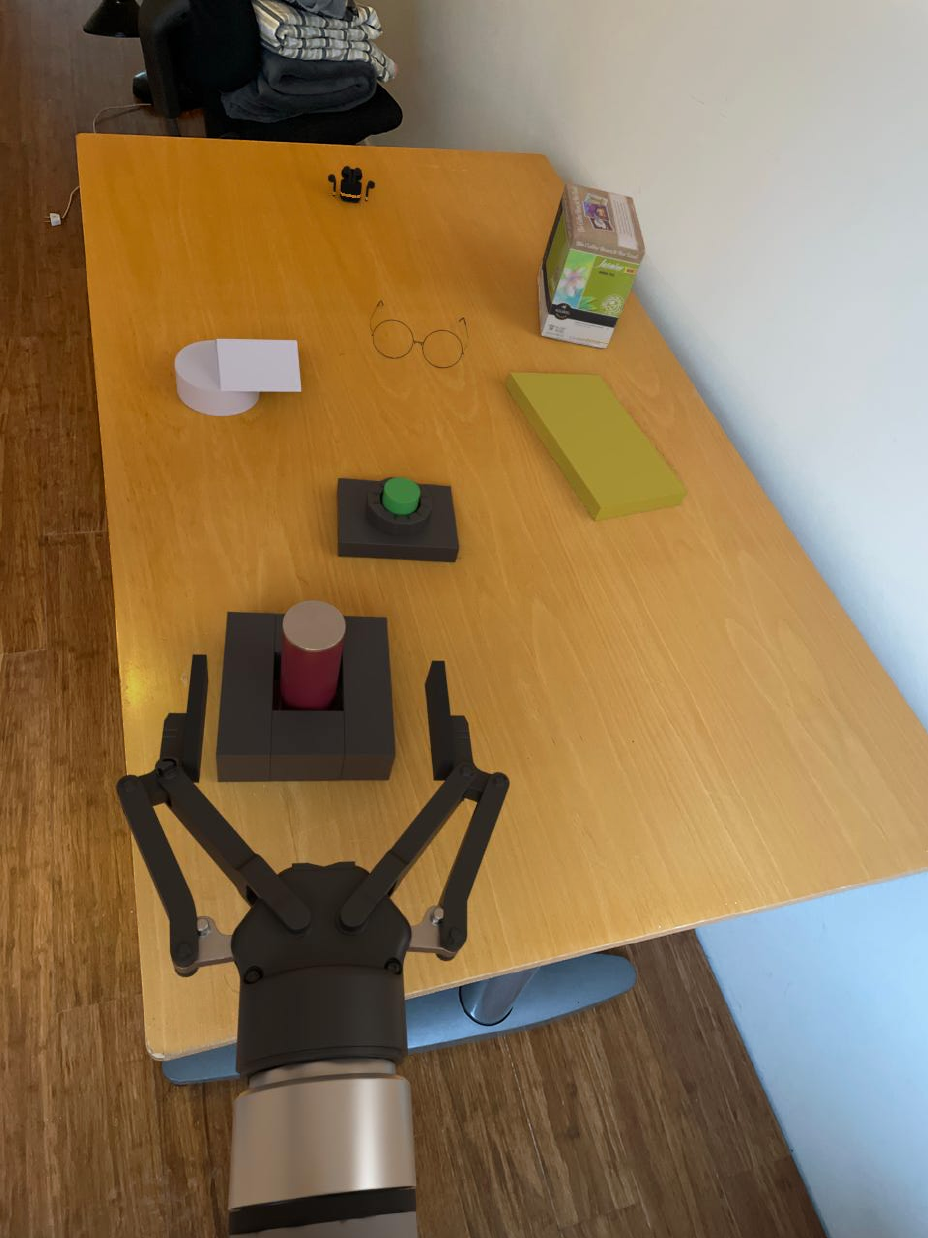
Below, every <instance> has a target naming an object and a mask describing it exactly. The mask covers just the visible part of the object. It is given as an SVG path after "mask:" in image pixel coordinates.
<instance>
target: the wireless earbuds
mask: <svg viewBox="0 0 928 1238" xmlns="http://www.w3.org/2000/svg"><path fill="white" fill-rule="evenodd" d="M340 172H341V173H340V174H341V177H342V178H341V179H340V186H339V192H340V191H341V192H342V193H345V194H351V195H356V196H357V195H360V194H361V195H362V190H363V182H361V180H362V179H363V170H362V169H361V168H360V167H355V168H352V167H351V166H349V165H345V166H343V169H342V170H341V171H340ZM327 181H328V182H329V183H331V184H332V183H333V184H332V192H333V191H334V192H336V193H337V177H336V175H335V174H334V173H331V174H330V173H329V174H328V176H327ZM375 188H376V182H375V181H373V180H368V182H367V185H366V187H365V196H366V197H368V198H369V193H370V189H371V190H372V189H375ZM336 195H337V194H336ZM336 195H333V194H332V197H333V198H335V197H336ZM365 196H364V197H365ZM339 198H340V200H341V201H343V202H347V203H355V204H357V203H359V202H360V201H361V198H362V196H361V197H360V198H352V197H346V196H342V195H341V194H340V193H339ZM364 201H365V202H366V203H368V202H369V199H368V200H366V199H365V198H364Z"/></svg>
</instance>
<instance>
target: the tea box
mask: <svg viewBox="0 0 928 1238" xmlns="http://www.w3.org/2000/svg"><path fill="white" fill-rule="evenodd" d="M558 203H559V204H558V208H557V211H556V214H555V217H554V221H553V224H552V227H551V230H550V234H549V237H548V241H547V244H546V247H545V251H544V254H543V256H542V257H543V258H542V260H541V263H540V266H539V270H538V274H539V285H538V276H537V277H536V286H537V299H538V314H539V316H538V317H539V328H540V336H542V337H545V338H550V339H553V340H558V341H564V342H568V343H573V344H578V345H584V346H589V347H593V348H598V349H599V348H600V349H606V348H607V347H608V346H609V344H610V341H611V339H612V337H613V334H614V331H615V328H616V326H617V323H618V321H619V319H620V316H621V313H622V311H623V309H624V306H625V303H626V301H627V298H628V297H629V294H630V291H631V289H632V287H633V283H634V281H635V278H636V276H637V274H638V272H639V269H640V267H641V264H642V262H643V259H644V256H645V253H646V246H645V242H644V237H643V234H642V229H641V226H640V222H639V218H638V214H637V210H636V207H635V204H634V198H633V197H631V196H628V195H623V194H619V193H615V192H612V191H611V192H610V191H607V190H603V189H597V188H593V187H588V186H584V185H581V184H576V183H571V182H565V185H564V187H563V191H562V194H561V197H560V200H559V202H558ZM539 286H540V302H539ZM540 310H541V317H540ZM541 327H542V329H541ZM546 332H547V333H546ZM557 334H558V335H557ZM579 338H580V339H579ZM583 339H585V340H583ZM586 339H589V340H591V341H589V340H586ZM592 340H594V341H598V342H594V341H592ZM599 341H600V342H604V343H608V344H604V343H599Z"/></svg>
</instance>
